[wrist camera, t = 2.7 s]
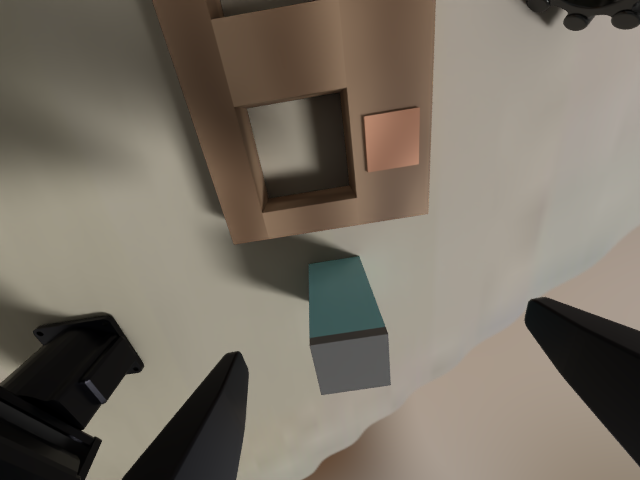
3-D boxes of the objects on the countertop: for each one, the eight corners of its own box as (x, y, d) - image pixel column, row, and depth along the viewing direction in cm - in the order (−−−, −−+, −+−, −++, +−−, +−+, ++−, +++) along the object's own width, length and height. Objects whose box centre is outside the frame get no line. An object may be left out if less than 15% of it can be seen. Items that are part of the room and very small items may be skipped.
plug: (316, 303, 22) (321, 395, 15) (308, 264, 20) (309, 345, 13) (363, 296, 22) (390, 385, 15) (359, 256, 20) (388, 334, 13)
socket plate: (244, 225, 19) (233, 246, 16) (124, -168, 11) (58, -270, 8) (410, 199, 18) (429, 214, 15) (411, -225, 11) (450, -353, 8)
